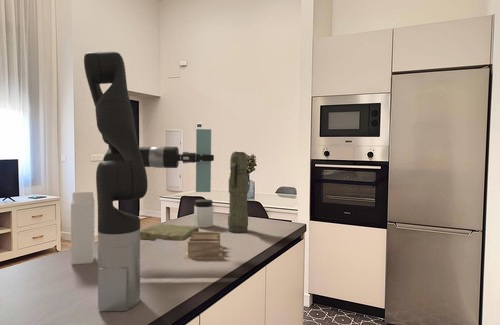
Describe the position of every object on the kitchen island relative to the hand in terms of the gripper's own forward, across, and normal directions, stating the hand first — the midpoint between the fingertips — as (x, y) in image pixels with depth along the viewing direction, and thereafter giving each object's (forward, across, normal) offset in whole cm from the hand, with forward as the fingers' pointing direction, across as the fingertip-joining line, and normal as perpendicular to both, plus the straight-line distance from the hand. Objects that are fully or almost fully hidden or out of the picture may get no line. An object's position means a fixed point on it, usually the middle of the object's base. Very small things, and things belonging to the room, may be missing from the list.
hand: (213, 157), depth 121 cm
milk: (-40, -11, +33) cm, 53 cm away
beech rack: (-2, -4, +33) cm, 33 cm away
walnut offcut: (-2, -4, +32) cm, 32 cm away
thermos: (+10, +29, +33) cm, 45 cm away
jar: (-6, +39, +33) cm, 52 cm away
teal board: (-3, 0, +12) cm, 12 cm away
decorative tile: (-19, +21, +34) cm, 44 cm away
